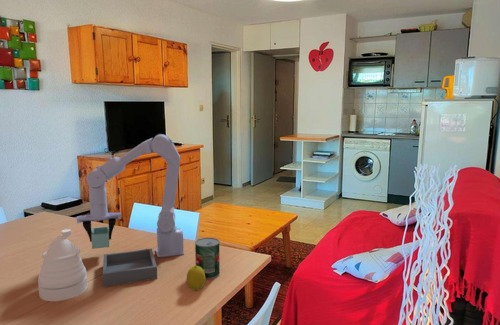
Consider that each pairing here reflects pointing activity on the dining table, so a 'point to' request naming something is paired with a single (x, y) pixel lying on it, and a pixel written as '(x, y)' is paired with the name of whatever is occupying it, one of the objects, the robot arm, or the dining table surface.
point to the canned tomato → (208, 256)
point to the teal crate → (100, 237)
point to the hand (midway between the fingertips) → (100, 239)
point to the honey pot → (62, 271)
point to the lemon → (196, 278)
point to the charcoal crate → (129, 267)
